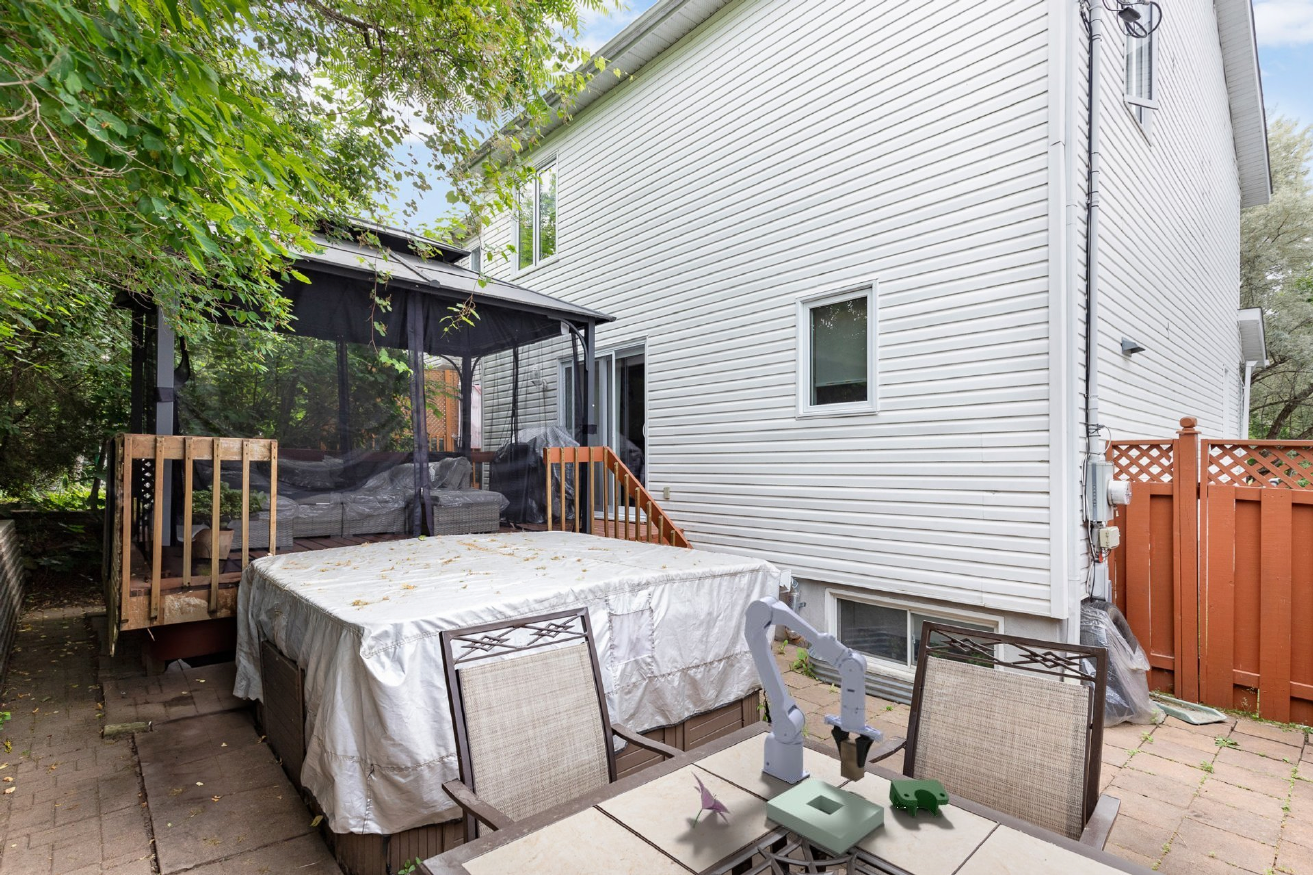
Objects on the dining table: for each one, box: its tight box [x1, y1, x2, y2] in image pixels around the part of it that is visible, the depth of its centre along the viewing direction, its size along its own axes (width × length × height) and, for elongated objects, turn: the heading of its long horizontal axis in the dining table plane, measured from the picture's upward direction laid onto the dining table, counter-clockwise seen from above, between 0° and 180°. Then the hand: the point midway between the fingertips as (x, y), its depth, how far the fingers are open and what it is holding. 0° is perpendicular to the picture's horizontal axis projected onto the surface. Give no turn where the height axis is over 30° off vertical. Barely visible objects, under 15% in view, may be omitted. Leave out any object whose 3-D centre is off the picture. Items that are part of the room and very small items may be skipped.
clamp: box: [888, 779, 950, 819], centre depth 140 cm, size 12×6×9 cm, turn 90°
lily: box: [690, 770, 732, 829], centre depth 134 cm, size 12×12×10 cm
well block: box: [765, 776, 885, 857], centre depth 135 cm, size 18×18×4 cm
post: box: [840, 736, 865, 783], centre depth 149 cm, size 4×4×8 cm
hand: (852, 763), depth 149 cm, fingers closed on post, 4 cm apart
